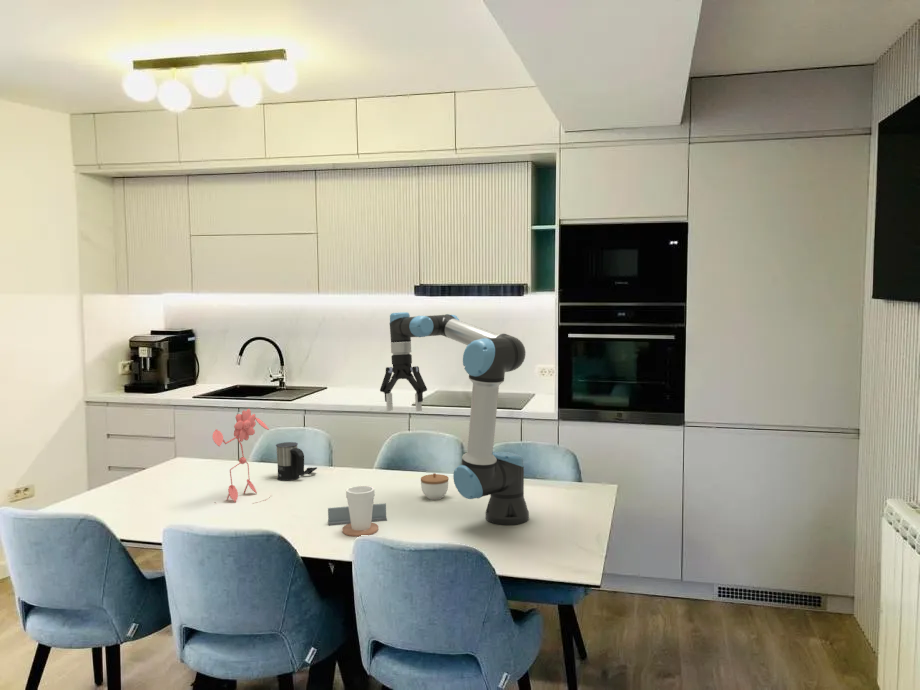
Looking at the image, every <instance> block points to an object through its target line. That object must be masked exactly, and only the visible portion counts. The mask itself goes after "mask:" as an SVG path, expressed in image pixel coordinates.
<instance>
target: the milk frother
mask: <svg viewBox="0 0 920 690" xmlns="http://www.w3.org/2000/svg"><path fill="white" fill-rule="evenodd" d="M298 445H299V443H298V442H293V441H286V442H279V443H277V444H275V446H276V463H277V480H278V481H294V480H298V479H299V478H300V476H303V475H306V474H309V475H310V474H311V473H313V472H314V471H316V470H317V469H318V467H307V468H306V469H305V454H304V452H303V449H301V448H298Z"/></svg>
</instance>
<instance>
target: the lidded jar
mask: <svg viewBox="0 0 920 690" xmlns="http://www.w3.org/2000/svg"><path fill="white" fill-rule="evenodd" d="M420 485H421V486H420V487H421V491H422V494H423V495H424V496H425V497H426V499H427V500H431V501H432V500H433V501H436V500H441V499H443V498H444V496H445V495H446V494H447V492H448V490H449V477H448V475H445V474H440V473H439V474H438V473H435V472H434V473H432V474H427V475H422V476H421V477H420Z"/></svg>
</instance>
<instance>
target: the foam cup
mask: <svg viewBox="0 0 920 690" xmlns="http://www.w3.org/2000/svg"><path fill="white" fill-rule="evenodd" d="M375 493H376V492H375V487H373V486H370V485H353V486H351V487H347V488H346V489H345V495H346V497H345V498H346V500H347V501H346V502H347V506H348V507H349V513H350V520H351V526H352V529H353V530H367V529H369V528H370V527H371V520H372V511H373V504H374V501H375V500H374V499H375V495H376V494H375Z"/></svg>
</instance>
